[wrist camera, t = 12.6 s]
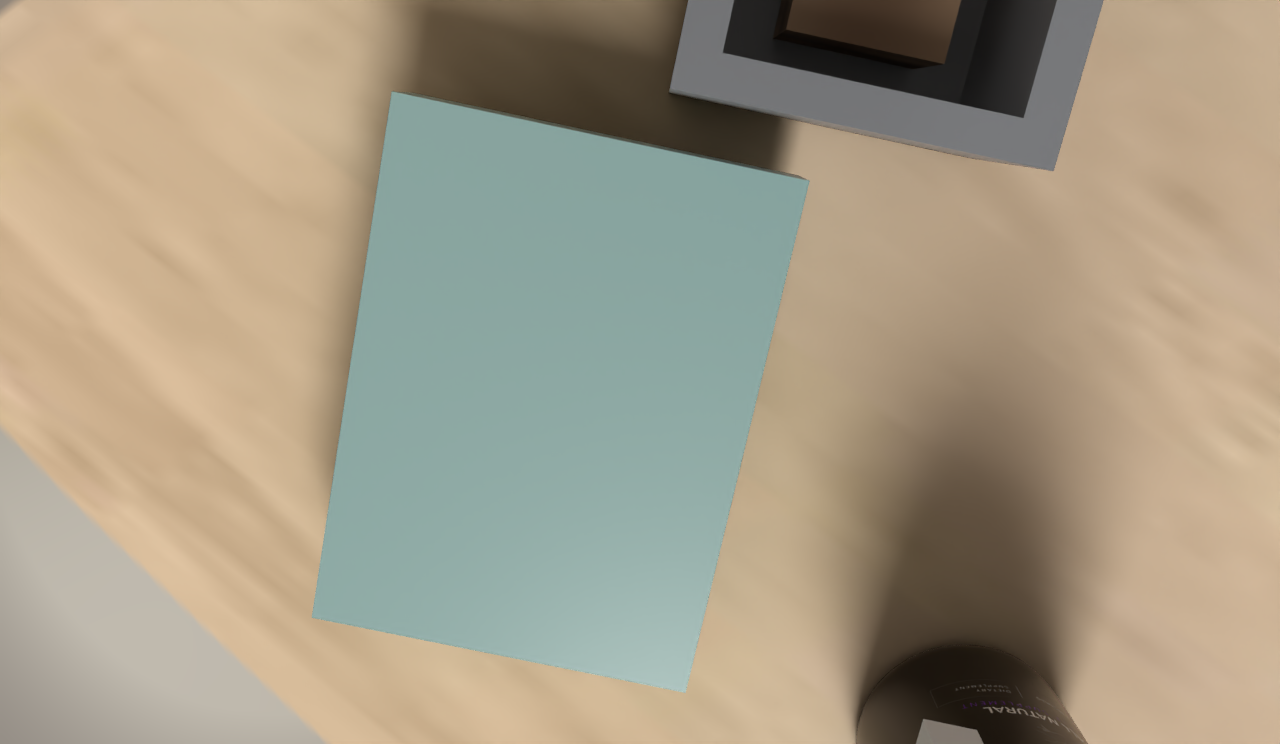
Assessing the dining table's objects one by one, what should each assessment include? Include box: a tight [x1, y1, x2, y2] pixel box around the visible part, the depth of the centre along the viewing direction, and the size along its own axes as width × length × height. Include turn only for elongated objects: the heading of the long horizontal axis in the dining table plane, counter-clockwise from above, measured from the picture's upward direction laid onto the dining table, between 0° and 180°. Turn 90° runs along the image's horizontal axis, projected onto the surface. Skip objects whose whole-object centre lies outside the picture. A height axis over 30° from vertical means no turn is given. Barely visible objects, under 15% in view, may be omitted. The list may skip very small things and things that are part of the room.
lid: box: [312, 91, 809, 693], centre depth 32 cm, size 11×15×4 cm
